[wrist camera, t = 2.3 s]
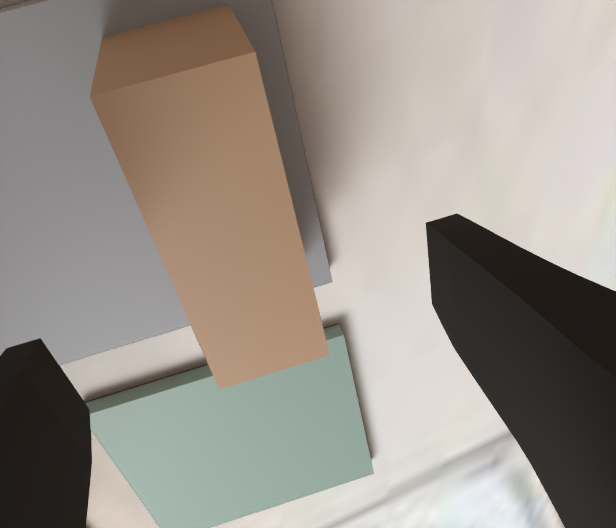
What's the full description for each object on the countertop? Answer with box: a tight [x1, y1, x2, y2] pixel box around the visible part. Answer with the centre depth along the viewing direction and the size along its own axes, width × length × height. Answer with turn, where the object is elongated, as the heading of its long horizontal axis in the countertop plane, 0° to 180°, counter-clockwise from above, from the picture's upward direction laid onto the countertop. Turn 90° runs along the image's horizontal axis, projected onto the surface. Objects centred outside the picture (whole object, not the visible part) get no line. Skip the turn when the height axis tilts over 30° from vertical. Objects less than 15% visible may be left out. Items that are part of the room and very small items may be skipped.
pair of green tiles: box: [85, 324, 374, 528], centre depth 23 cm, size 22×9×1 cm, turn 101°
